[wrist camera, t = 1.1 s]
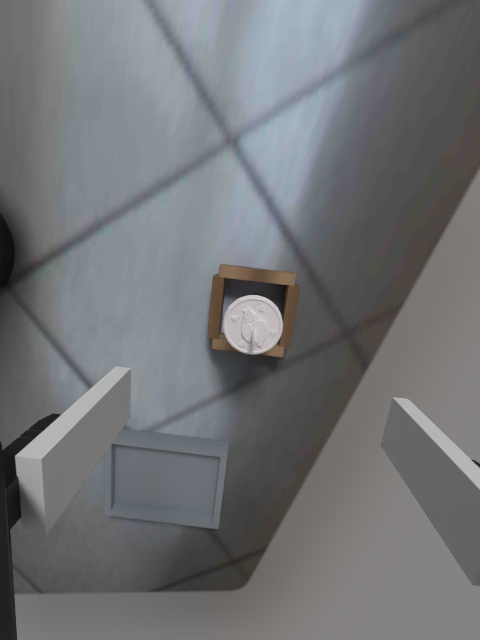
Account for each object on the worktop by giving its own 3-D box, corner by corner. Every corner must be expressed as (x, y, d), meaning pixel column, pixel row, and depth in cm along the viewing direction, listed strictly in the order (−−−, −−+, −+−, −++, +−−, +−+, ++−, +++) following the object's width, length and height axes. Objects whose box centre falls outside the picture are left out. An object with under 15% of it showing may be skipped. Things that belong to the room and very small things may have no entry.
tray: (111, 502, 49) (104, 515, 47) (112, 427, 46) (104, 437, 44) (220, 515, 49) (218, 529, 47) (228, 441, 46) (227, 452, 44)
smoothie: (239, 337, 42) (233, 380, 28) (221, 294, 41) (207, 318, 27) (282, 321, 41) (298, 358, 28) (266, 277, 40) (274, 293, 26)
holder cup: (209, 341, 42) (206, 348, 39) (216, 263, 40) (214, 264, 37) (285, 350, 42) (288, 358, 39) (298, 273, 40) (302, 275, 37)
